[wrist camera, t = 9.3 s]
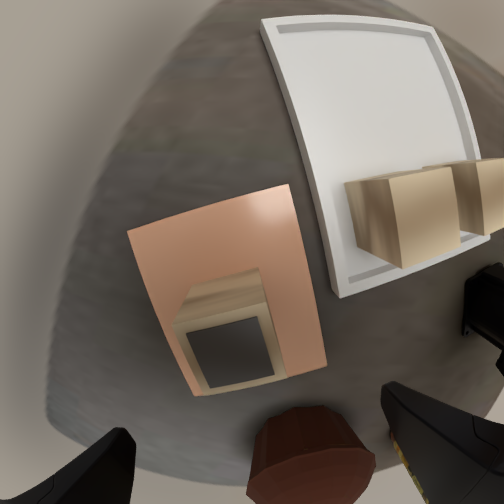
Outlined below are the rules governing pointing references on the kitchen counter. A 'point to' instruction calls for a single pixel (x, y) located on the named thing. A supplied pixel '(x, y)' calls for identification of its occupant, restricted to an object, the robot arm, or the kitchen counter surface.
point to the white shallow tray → (367, 120)
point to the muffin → (309, 460)
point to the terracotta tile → (235, 268)
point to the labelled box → (229, 334)
